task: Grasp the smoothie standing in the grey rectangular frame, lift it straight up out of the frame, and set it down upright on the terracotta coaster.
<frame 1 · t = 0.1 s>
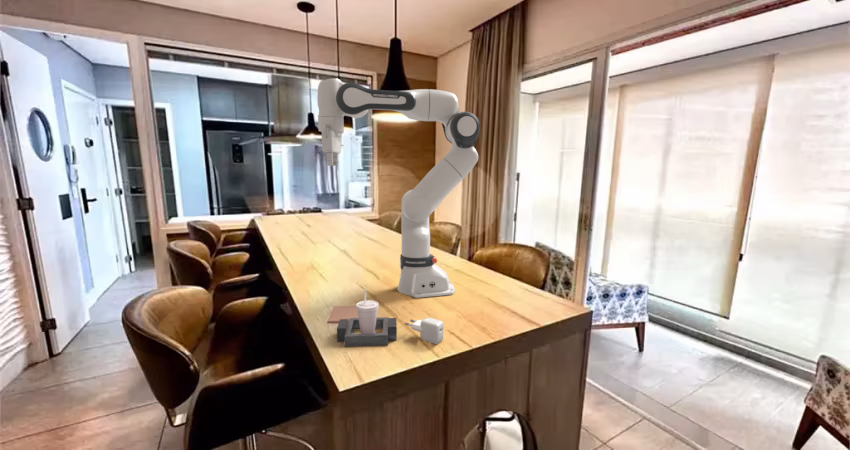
hand: (332, 165, 131), 48 cm above the table, tool pointing down, fingers open, 8 cm apart
smoothie: (367, 336, 103), resting in grey rectangular frame
coaster: (349, 315, 117), on the table
grey rectangular frame: (367, 336, 103), on the table
power adapter: (424, 338, 102), on the table
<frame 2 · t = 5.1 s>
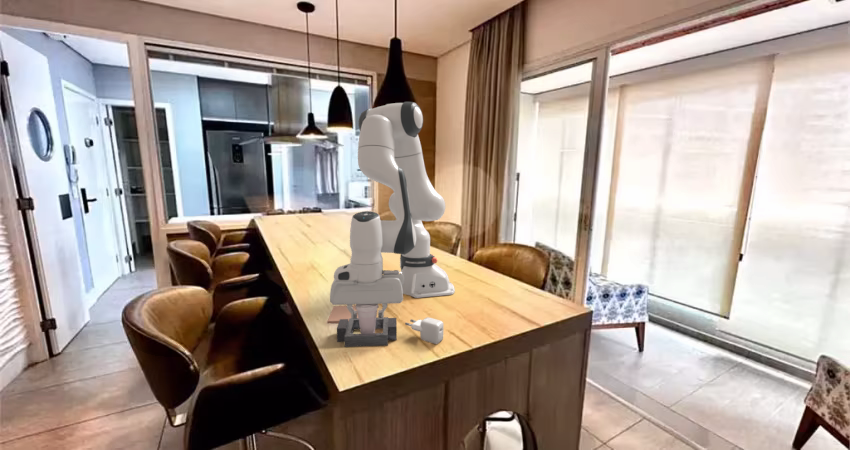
hand: (367, 317, 102), 6 cm above the table, tool pointing down, fingers closed on smoothie, 6 cm apart
smoothie: (367, 336, 103), resting in grey rectangular frame, touching gripper
everything else where it was.
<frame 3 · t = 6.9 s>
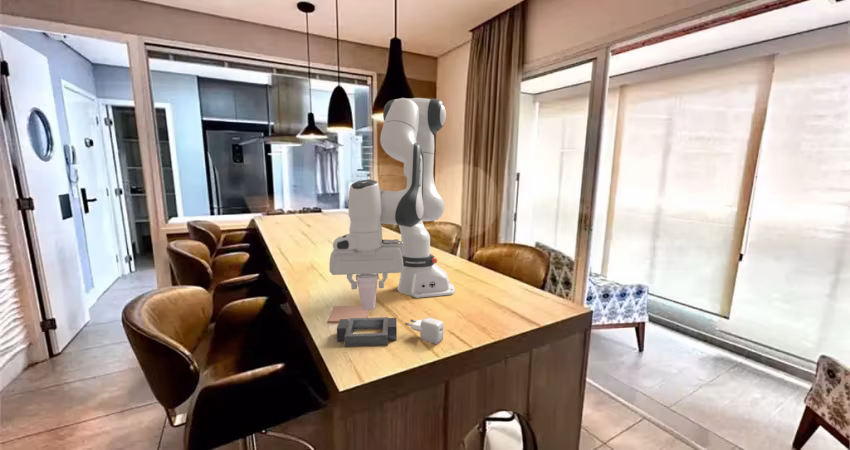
hand: (367, 288, 101), 14 cm above the table, tool pointing down, fingers closed on smoothie, 6 cm apart
smoothie: (368, 308, 102), point 8 cm above the table, touching gripper
everything else where it was.
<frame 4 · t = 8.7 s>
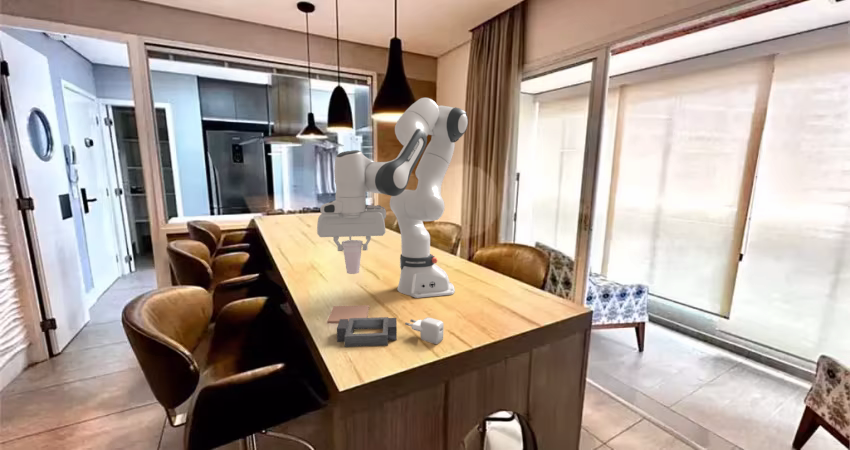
hand: (352, 250, 110), 22 cm above the table, tool pointing down, fingers closed on smoothie, 6 cm apart
smoothie: (353, 273, 111), point 15 cm above the table, touching gripper
everything else where it was.
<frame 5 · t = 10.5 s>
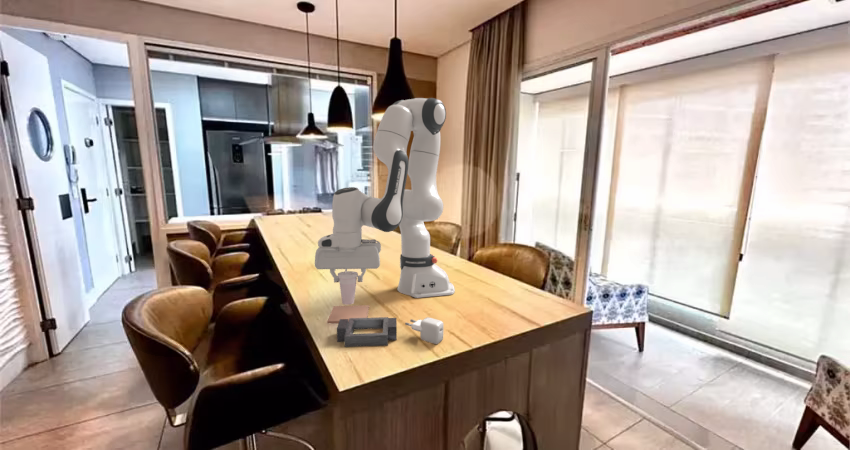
hand: (348, 281, 115), 11 cm above the table, tool pointing down, fingers closed on smoothie, 6 cm apart
smoothie: (348, 303, 116), point 4 cm above the table, touching gripper
everything else where it was.
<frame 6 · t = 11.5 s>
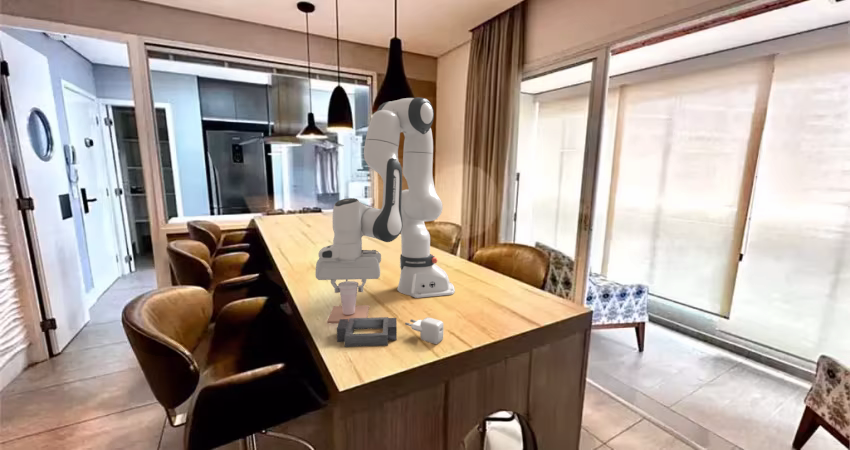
hand: (349, 291, 116), 8 cm above the table, tool pointing down, fingers closed on smoothie, 6 cm apart
smoothie: (348, 313, 116), point 1 cm above the table, touching gripper
everything else where it was.
when the fingers open (8 cm above the table, at t = 12.2 s): smoothie moves 1 cm, resting on coaster.
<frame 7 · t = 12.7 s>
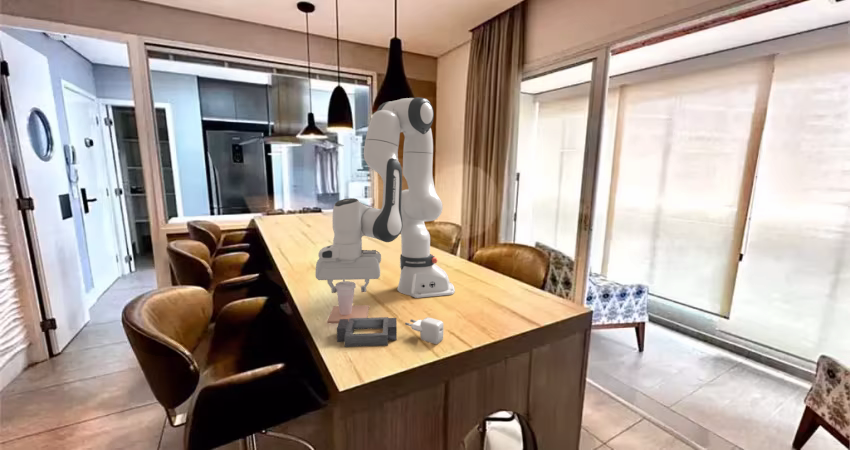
hand: (349, 292, 116), 8 cm above the table, tool pointing down, fingers open, 8 cm apart
smoothie: (345, 313, 117), point 1 cm above the table, touching coaster, gripper
everything else where it was.
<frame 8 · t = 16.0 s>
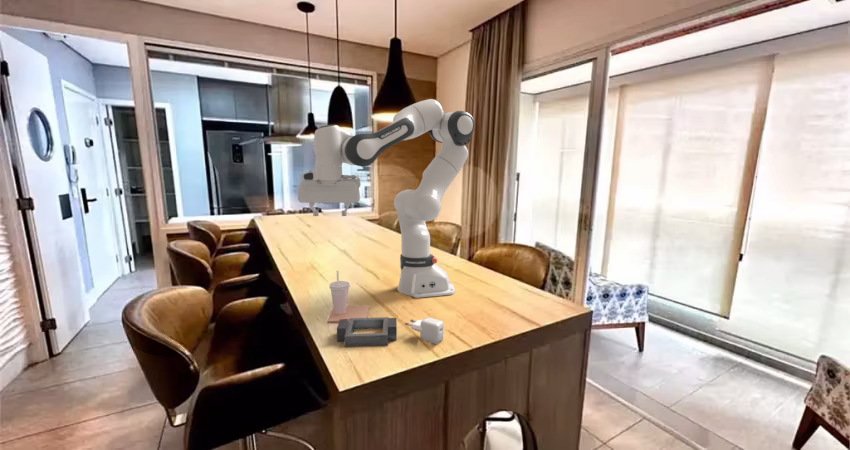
hand: (330, 215, 122), 31 cm above the table, tool pointing down, fingers open, 8 cm apart
smoothie: (340, 313, 117), point 1 cm above the table, touching coaster
everything else where it was.
at the end: smoothie 3.0 cm off-centre on the coaster, point 0.6 cm above the coaster's base; smoothie tilted 1°; the gripper is holding nothing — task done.
